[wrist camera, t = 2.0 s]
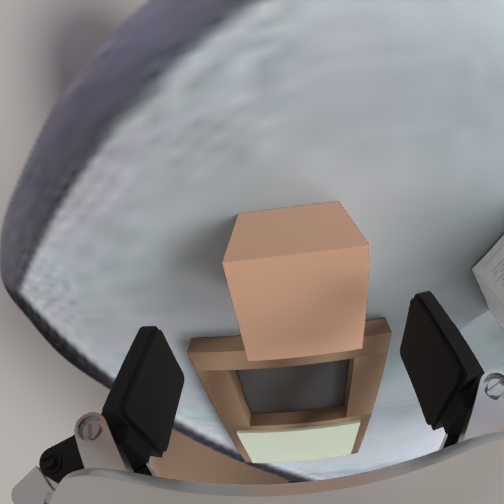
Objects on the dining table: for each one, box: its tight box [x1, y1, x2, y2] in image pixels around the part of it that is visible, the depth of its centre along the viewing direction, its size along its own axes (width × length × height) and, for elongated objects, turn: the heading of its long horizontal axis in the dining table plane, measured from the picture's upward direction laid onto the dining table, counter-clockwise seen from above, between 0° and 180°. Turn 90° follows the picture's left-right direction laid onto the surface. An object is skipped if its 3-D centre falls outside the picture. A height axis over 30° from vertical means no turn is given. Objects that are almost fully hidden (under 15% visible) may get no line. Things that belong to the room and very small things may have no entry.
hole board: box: [187, 318, 391, 463], centre depth 23 cm, size 14×22×2 cm, turn 10°
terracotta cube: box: [222, 201, 369, 361], centre depth 14 cm, size 6×6×6 cm
